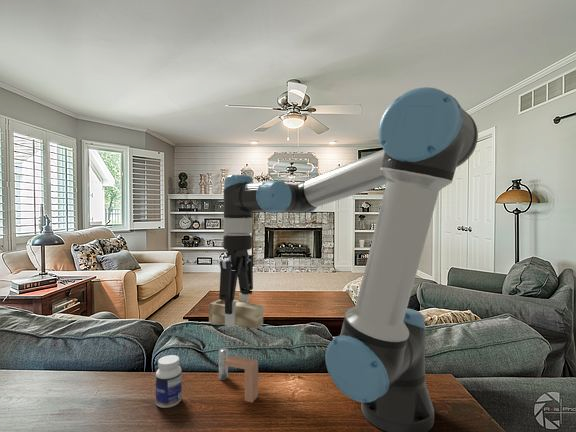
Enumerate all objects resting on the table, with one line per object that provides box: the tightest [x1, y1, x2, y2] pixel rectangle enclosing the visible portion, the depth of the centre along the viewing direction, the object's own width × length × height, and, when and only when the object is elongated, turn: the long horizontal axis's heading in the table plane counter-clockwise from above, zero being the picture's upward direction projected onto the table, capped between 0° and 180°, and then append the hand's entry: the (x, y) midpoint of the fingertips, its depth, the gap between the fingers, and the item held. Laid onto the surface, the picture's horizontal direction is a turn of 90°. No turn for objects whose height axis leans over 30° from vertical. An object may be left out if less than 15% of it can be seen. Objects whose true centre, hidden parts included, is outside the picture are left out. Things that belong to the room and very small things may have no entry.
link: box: [208, 299, 264, 330], centre depth 86 cm, size 14×6×5 cm, turn 69°
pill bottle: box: [155, 354, 183, 409], centre depth 76 cm, size 6×6×10 cm
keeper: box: [224, 355, 259, 404], centre depth 78 cm, size 8×3×9 cm, turn 69°
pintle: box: [218, 347, 229, 381], centre depth 87 cm, size 2×2×8 cm
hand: (236, 321), depth 86 cm, fingers closed on link, 6 cm apart
